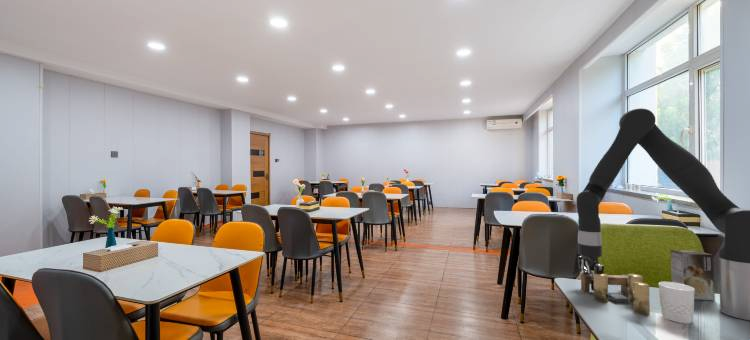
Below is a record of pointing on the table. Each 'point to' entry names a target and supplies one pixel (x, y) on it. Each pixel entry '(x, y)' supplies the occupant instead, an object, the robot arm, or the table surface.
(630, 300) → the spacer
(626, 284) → the rake
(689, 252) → the coffee box
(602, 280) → the cylinder
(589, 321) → the table surface
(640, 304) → the cylinder
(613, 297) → the grey square block
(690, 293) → the white cup
